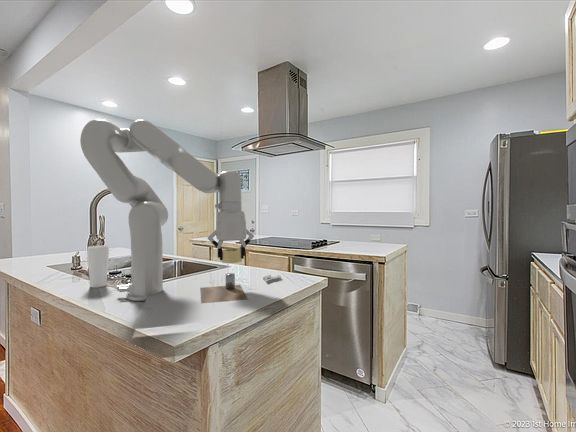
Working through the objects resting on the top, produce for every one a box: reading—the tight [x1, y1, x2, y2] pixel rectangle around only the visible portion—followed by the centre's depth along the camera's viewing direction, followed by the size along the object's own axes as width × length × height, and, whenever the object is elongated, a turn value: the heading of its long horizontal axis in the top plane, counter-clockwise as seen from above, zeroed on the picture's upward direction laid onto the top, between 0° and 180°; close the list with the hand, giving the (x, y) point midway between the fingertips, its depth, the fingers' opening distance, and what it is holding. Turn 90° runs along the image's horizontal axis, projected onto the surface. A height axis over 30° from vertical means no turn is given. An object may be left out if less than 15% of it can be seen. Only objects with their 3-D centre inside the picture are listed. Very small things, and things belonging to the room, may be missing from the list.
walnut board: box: [200, 284, 249, 304], centre depth 100 cm, size 14×18×2 cm
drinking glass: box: [86, 244, 110, 289], centre depth 113 cm, size 7×7×15 cm
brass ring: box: [221, 247, 243, 264], centre depth 105 cm, size 7×7×4 cm
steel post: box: [225, 272, 236, 290], centre depth 106 cm, size 3×3×5 cm
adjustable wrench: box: [262, 274, 282, 284], centre depth 117 cm, size 25×6×2 cm, turn 152°
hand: (231, 258), depth 105 cm, fingers closed on brass ring, 6 cm apart
